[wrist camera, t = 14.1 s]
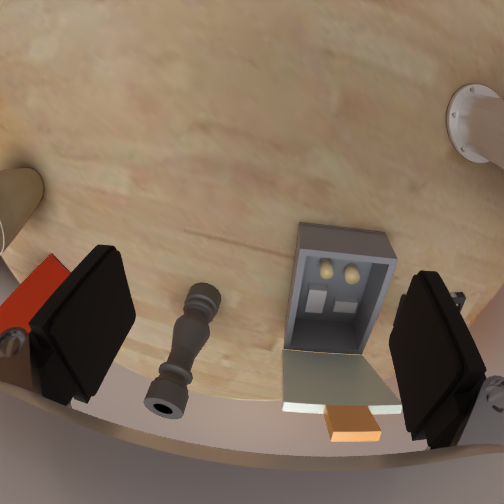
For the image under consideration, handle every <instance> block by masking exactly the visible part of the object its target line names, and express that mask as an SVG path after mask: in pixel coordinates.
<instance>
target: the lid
mask: <svg viewBox="0 0 504 504" xmlns="http://www.w3.org/2000/svg"><path fill="white" fill-rule="evenodd" d="M281 362H282V370H281V372H282V411H289V412H302V413H320V414H324V418H325V421H326V425H327V429H328V433H329V436H330V440H331V441H334V442H335V441H337V442H338V441H340V442H349V441H350V442H352V441H378V440H379V438H380V435H381V432H382V431H381V429H380V427H379V425H378V424H377V422H376V420H375V418H374V417H373V415H372V414H397V413H401V410H402V403H401V402H400V401H399V399H398V398H397V397H396V395H395V394H394V393H393V392H392V391H391V389H390V388H389V387H388V386H387V385H386V383H385V382H384V381H383V380H382V378H381V377H380V376H379V375H378V374H377V372H376V371H375V370H374V369H373V368H372V366H371V365H370V364H369V363H368V362H367V360H366V359H365V358H364V357H363V356H362V355H344V354H327V353H314V352H302V351H291V350H282V355H281Z"/></svg>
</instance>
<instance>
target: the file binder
mask: <svg viewBox="0 0 504 504" xmlns="http://www.w3.org/2000/svg"><path fill="white" fill-rule="evenodd" d="M69 275H70V272H69V271H68V270H67V269H66V268H65V267H64V266H63V265H62V264H61V263H60V262H59V261H58V260H57V259H56V258H55V257H54V256H53V255H52V254H51V255H49V256H48V257H47V258H46V259H45V260H44V261H43V262H42V263H41V264H40V265H39V266H38V267H37V268H36V269H35V270H34V271H33V272H32V273H31V274H30V275H29V276H28V277H27V278H26V279H25V280H24V281H23V282H22V283H21V284H20V285H19V287H18V288H17V289H16V290H15V291H14V292H13V293H12V294H11V295H10V296H9V297H8V298H7V300H5V302H4V303H3V304H2V305H1V306H0V334H1V333H2V332H3V331H5V330H7V329H9V328H12V327H22V328H24V329H25V330H26V331H27V332H28V334H29V333H30V331H31V328H30V326H29V324H28V323H29V322H30V320H31V319H32V318H33V317H34V315H35V314H36V313H37V312H38V310H39V309H40V308H41V307H42V306H43V304H44V303H45V302H46V301H47V300H48V298H49V297H50V296H51V295H52V294H53V293H54V291H55V290H56V289H57V288H58V287H59V286H60V285H61V283H62V282H63V281H64V280H65V279H66V278H67V277H68V276H69Z"/></svg>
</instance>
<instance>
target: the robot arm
mask: <svg viewBox="0 0 504 504" xmlns="http://www.w3.org/2000/svg"><path fill="white" fill-rule="evenodd" d="M451 114H452V115H451ZM446 123H447V130H448V134H449V137H450V140H451V142H452V144H453V146H454V147H455V149H456V150H457V151H458V152H459V153H460V154H461V155H462V156H463V157H465V158H466V159H468V160H470V161H472V162H475V163H487V162H490V161H491V162H492V163H494V164H496V165H497V166H499V167H501V168H502V169H504V99H501V98H500V97H499V96H498V95H497V93H495V92H494V91H493V90H492V89H490V88H488V87H487V86H484V85H480V84H469V85H466V86H463V87H462V88H460V89H459V90H458V91H457V92H456V93H455V94H454V95H453V97H452V99H451V100H450V103H449V106H448V110H447V121H446ZM135 318H136V313H135V309H134V305H133V301H132V298H131V294H130V290H129V286H128V283H127V279H126V275H125V270H124V266H123V262H122V258H121V254H120V252H119V251H117V250H116V248H115V247H114V246H110V245H97V246H96V247H95V248H94V249H93V250H92V251H91V252H90V253H89V254H88V255H87V256H86V257H85V258H84V259H83V260H82V262H81V263H80V264H79V265H78V266H77V267H76V268H75V269H74V270H73V271H72V272H71V273H70V275H69V276H68V277H67V278H66V279H65V280H64V281H63V282H62V283H61V285H60V286H59V287H58V288H57V289H56V290H55V291H54V293H53V294H52V295H51V296H50V297H49V298H48V300H47V301H46V302H45V303H44V304H43V306H42V307H41V308H40V309H39V310H38V312H37V313H36V314H35V315H34V317H33V318H32V319H31V320H30V322H29V323H28V324H29V326H30V328H31V331H30V333H29V334H28V332H27V331H26V330H25V329H24V328H22V327H12V328H9V329H7V330H5V331H3V332H2V333H1V334H0V504H504V377H502V376H495V375H494V376H491V377H488V378H487V379H486V376H485V374H484V373H485V372H486V367H485V365H484V363H483V360H482V358H481V356H480V353H479V351H478V349H477V347H476V344H475V342H474V340H473V338H472V336H471V334H470V332H469V330H468V328H467V326H466V323H465V321H464V319H463V317H462V316H461V314H460V312H459V310H458V308H457V306H456V304H455V302H454V300H453V298H452V297H451V295H450V293H449V291H448V289H447V287H446V286H445V284H444V282H443V280H442V279H441V277H440V275H439V274H438V272H435V271H422V270H421V271H419V273H418V274H417V275H414V276H413V278H412V280H411V283H410V286H409V289H408V292H407V294H406V297H405V300H404V302H403V305H402V308H401V310H400V313H399V315H398V318H397V320H396V323H395V325H394V327H393V330H392V332H391V335H390V338H389V348H390V352H391V356H392V360H393V365H394V369H395V373H396V378H397V382H398V388H399V392H400V397H401V403H402V408H403V413H404V419H405V425H406V430H407V431H408V432H411V436H412V441H414V440H423V439H427V444H428V447H427V448H426V450H425V451H416V452H407V453H398V454H386V455H372V456H351V457H350V456H349V457H311V456H289V455H274V454H262V453H252V452H244V451H236V450H229V449H222V448H216V447H209V446H204V445H198V444H193V443H187V442H183V441H179V440H174V439H170V438H166V437H161V436H157V435H153V434H149V433H146V432H142V431H138V430H135V429H131V428H128V427H124V426H121V425H118V424H115V423H111V422H108V421H105V420H102V419H99V418H97V417H93V416H91V415H88V414H85V413H83V412H80V411H77V410H74V409H72V407H71V402H70V401H71V399H72V398H73V397H74V399H76V400H79V401H81V402H84V403H88V402H89V400H90V398H91V396H94V395H95V394H96V393H97V391H98V389H99V387H100V385H101V383H102V381H103V379H104V377H105V375H106V374H107V372H108V370H109V368H110V366H111V364H112V362H113V360H114V358H115V357H116V355H117V353H118V351H119V349H120V347H121V345H122V344H123V342H124V340H125V338H126V336H127V334H128V333H129V331H130V329H131V327H132V325H133V324H134V322H135Z"/></svg>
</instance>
